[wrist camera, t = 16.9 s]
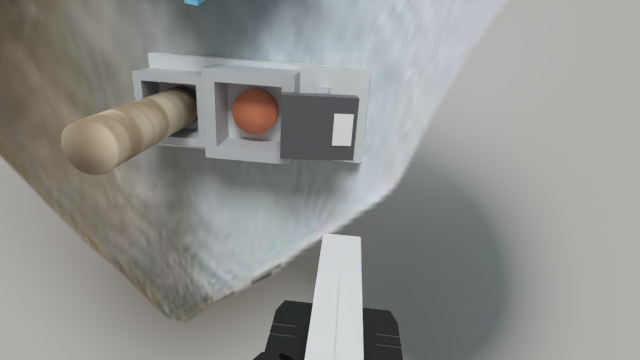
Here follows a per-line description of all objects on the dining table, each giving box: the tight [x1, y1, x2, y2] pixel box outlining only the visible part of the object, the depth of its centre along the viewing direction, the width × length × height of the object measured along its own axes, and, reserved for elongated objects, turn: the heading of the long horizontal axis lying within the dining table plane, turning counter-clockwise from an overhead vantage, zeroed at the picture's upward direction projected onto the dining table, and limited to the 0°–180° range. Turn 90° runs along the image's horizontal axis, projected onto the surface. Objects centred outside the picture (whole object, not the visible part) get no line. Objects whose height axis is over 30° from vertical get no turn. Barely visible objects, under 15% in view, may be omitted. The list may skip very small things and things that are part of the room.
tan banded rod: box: [61, 86, 198, 175], centre depth 34 cm, size 4×4×16 cm
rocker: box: [280, 92, 360, 161], centre depth 36 cm, size 7×6×2 cm
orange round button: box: [232, 88, 278, 135], centre depth 40 cm, size 5×5×1 cm
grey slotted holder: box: [132, 52, 371, 165], centre depth 40 cm, size 23×10×6 cm, turn 86°
